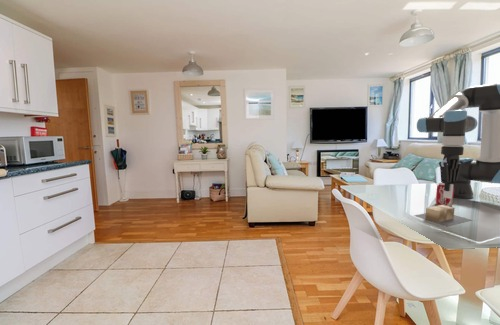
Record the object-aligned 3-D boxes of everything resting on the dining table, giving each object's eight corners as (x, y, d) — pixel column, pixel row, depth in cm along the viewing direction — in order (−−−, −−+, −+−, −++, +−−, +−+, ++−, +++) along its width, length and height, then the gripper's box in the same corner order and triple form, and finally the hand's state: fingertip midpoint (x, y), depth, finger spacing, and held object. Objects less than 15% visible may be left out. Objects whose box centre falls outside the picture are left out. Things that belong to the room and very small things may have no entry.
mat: (438, 211, 118) (438, 210, 118) (472, 221, 105) (473, 220, 105) (413, 216, 112) (413, 215, 112) (447, 227, 99) (447, 226, 99)
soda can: (455, 208, 123) (457, 185, 122) (439, 207, 125) (442, 185, 123) (447, 204, 130) (449, 182, 129) (432, 203, 132) (434, 182, 130)
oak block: (442, 204, 111) (426, 207, 107) (454, 207, 107) (438, 211, 103) (441, 215, 112) (425, 218, 108) (453, 218, 107) (437, 222, 103)
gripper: (451, 145, 111) (447, 194, 114) (433, 145, 106) (429, 197, 109) (471, 145, 104) (466, 198, 107) (453, 146, 99) (447, 201, 102)
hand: (447, 197), depth 108 cm, fingers closed
